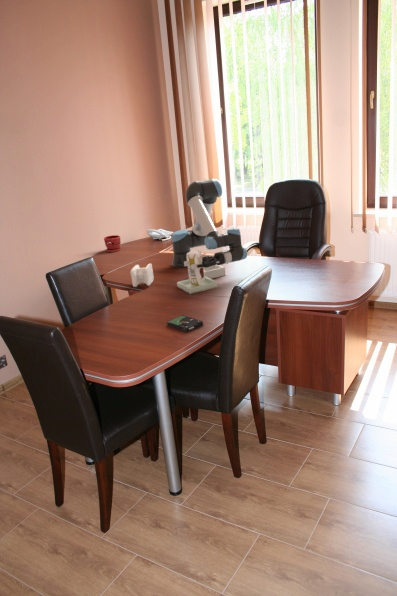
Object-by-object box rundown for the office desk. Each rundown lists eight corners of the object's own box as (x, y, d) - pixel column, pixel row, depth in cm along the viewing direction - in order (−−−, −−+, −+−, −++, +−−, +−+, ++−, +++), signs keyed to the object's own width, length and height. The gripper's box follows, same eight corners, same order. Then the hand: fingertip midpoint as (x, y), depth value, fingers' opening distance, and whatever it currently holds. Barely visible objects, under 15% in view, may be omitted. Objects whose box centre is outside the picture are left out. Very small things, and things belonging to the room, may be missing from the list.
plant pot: (104, 253, 401) (101, 239, 397) (109, 249, 413) (107, 235, 409) (119, 252, 398) (116, 237, 395) (124, 248, 411) (121, 234, 407)
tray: (177, 286, 290) (176, 282, 289) (204, 280, 297) (204, 275, 296) (190, 294, 275) (189, 289, 274) (218, 287, 281) (217, 282, 281)
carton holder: (196, 275, 310) (195, 267, 308) (215, 270, 315) (214, 263, 313) (206, 279, 298) (205, 271, 296) (225, 275, 303) (224, 267, 301)
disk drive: (203, 326, 229) (183, 319, 239) (203, 321, 228) (182, 314, 238) (187, 334, 222) (166, 326, 233) (186, 328, 221) (166, 321, 232)
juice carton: (188, 285, 283) (184, 253, 277) (193, 281, 290) (190, 249, 284) (200, 285, 280) (197, 253, 274) (205, 281, 288) (202, 249, 282)
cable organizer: (149, 287, 295) (146, 269, 292) (132, 288, 297) (129, 270, 293) (154, 280, 309) (151, 262, 306) (138, 281, 311) (135, 263, 307)
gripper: (232, 267, 280) (196, 275, 272) (214, 260, 299) (181, 268, 290) (230, 254, 278) (195, 262, 269) (213, 248, 297) (179, 256, 288)
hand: (187, 265), depth 280 cm, fingers closed on juice carton, 9 cm apart
